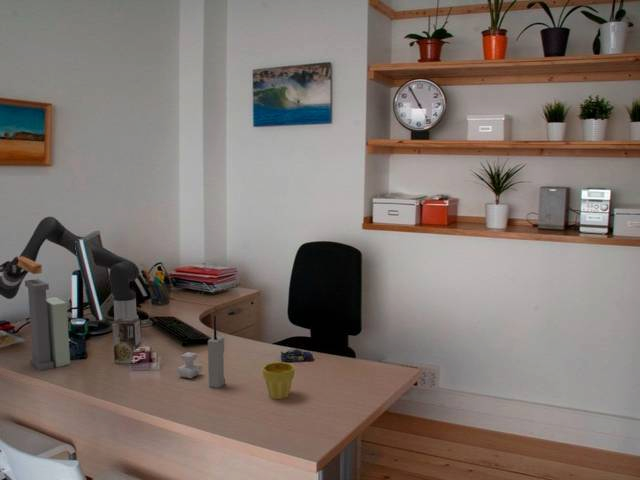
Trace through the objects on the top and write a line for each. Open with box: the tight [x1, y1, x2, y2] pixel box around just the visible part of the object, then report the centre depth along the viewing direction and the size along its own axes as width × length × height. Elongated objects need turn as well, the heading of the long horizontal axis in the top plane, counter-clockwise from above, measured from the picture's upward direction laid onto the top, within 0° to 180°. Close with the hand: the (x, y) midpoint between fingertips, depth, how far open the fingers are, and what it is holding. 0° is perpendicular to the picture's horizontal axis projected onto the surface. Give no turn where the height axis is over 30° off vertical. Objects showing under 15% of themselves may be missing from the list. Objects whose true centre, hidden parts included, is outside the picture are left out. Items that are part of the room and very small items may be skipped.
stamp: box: [176, 351, 203, 379], centre depth 222 cm, size 9×7×8 cm
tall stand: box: [24, 278, 55, 371], centre depth 232 cm, size 5×12×32 cm, turn 40°
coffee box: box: [111, 318, 143, 365], centre depth 237 cm, size 9×6×16 cm
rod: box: [17, 255, 43, 275], centre depth 236 cm, size 3×24×3 cm, turn 41°
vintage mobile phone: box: [207, 315, 226, 389], centre depth 212 cm, size 4×5×25 cm
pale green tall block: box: [46, 296, 71, 368], centre depth 236 cm, size 5×12×24 cm, turn 40°
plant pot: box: [262, 361, 295, 400], centre depth 204 cm, size 10×10×10 cm
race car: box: [280, 349, 314, 363], centre depth 240 cm, size 15×7×4 cm, turn 106°
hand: (22, 258), depth 241 cm, fingers closed on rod, 3 cm apart
